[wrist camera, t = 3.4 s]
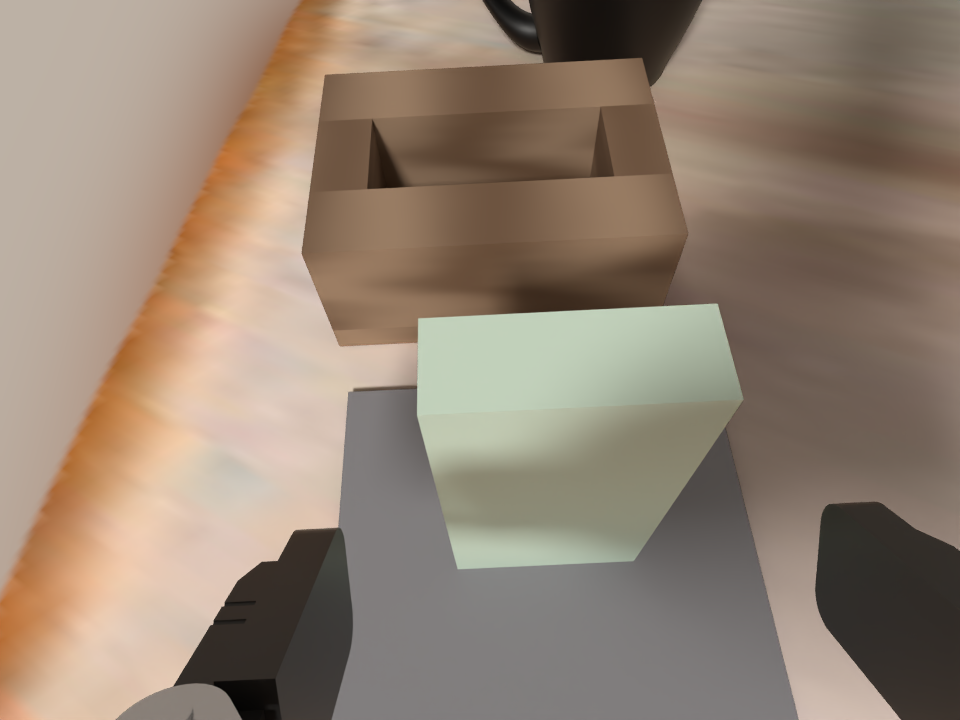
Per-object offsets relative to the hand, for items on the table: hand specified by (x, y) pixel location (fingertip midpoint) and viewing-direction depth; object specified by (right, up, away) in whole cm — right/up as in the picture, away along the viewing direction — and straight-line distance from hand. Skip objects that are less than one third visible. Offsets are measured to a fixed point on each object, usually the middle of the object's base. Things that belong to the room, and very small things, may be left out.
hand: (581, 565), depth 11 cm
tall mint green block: (0, -2, +8) cm, 8 cm away
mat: (0, -2, +8) cm, 9 cm away
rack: (-1, +8, +14) cm, 16 cm away
